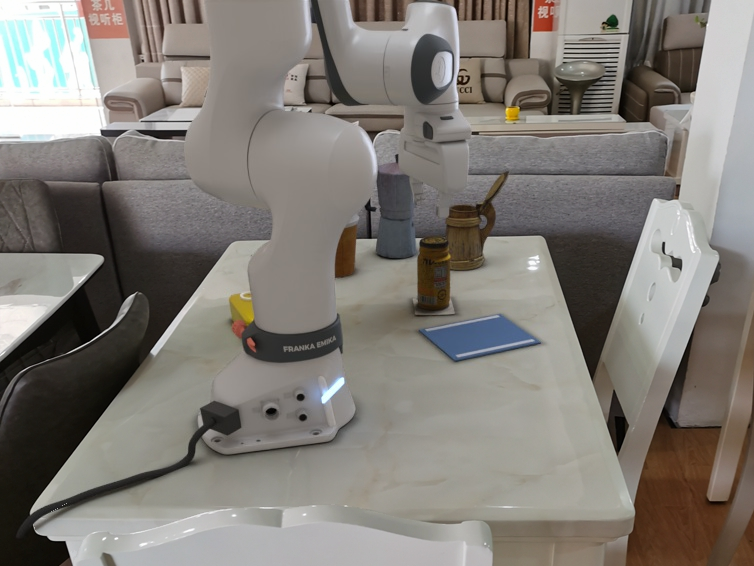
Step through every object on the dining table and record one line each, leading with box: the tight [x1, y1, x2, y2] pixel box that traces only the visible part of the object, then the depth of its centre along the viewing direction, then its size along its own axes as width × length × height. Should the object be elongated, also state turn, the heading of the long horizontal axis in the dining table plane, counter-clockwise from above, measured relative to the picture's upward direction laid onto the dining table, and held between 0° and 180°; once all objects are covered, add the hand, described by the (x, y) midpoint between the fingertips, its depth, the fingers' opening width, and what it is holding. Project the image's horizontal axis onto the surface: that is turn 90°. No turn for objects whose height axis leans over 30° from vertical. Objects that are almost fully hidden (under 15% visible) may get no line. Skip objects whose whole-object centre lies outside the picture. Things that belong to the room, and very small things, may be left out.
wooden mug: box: [444, 170, 511, 271], centre depth 158 cm, size 9×14×18 cm, turn 89°
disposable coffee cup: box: [335, 213, 360, 278], centre depth 158 cm, size 10×10×12 cm
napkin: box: [418, 313, 542, 363], centre depth 133 cm, size 16×14×1 cm
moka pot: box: [364, 153, 424, 259], centre depth 165 cm, size 10×15×20 cm, turn 89°
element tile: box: [228, 290, 254, 326], centre depth 138 cm, size 15×15×5 cm
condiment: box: [412, 235, 456, 316], centre depth 141 cm, size 7×8×12 cm
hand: (430, 210), depth 134 cm, fingers open, 8 cm apart
